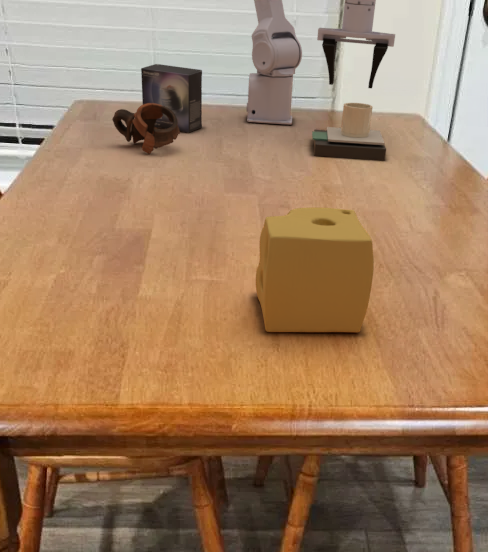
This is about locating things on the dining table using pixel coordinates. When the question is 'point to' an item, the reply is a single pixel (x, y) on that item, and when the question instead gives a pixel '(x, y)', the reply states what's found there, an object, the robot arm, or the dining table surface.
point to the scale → (348, 145)
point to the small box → (174, 94)
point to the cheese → (314, 271)
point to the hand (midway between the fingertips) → (350, 85)
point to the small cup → (356, 120)
